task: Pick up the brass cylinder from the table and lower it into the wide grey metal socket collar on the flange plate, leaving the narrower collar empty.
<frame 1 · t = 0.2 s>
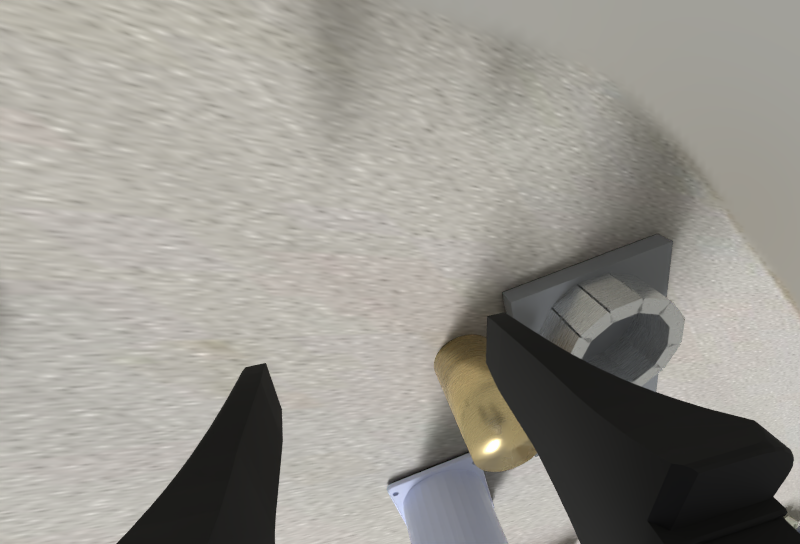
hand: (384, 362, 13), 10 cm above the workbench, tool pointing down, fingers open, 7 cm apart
butterfly valve: (763, 536, 61), on the workbench
socket collar: (582, 314, 28), resting on flange plate
flange plate: (584, 354, 30), on the workbench
brass cylinder: (464, 359, 27), on the workbench
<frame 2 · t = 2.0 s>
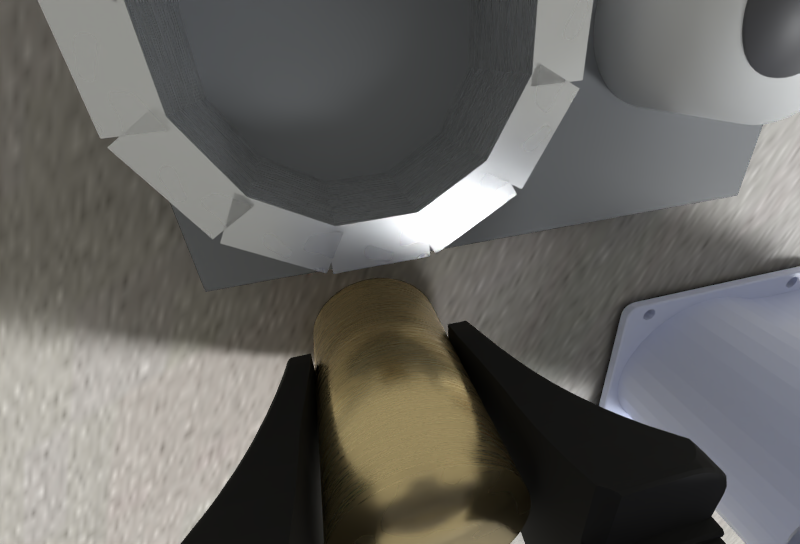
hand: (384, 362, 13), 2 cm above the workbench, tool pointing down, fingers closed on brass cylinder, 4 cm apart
socket collar: (333, 41, 10), resting on flange plate
flange plate: (488, 27, 10), on the workbench
brass cylinder: (376, 331, 14), on the workbench, touching gripper
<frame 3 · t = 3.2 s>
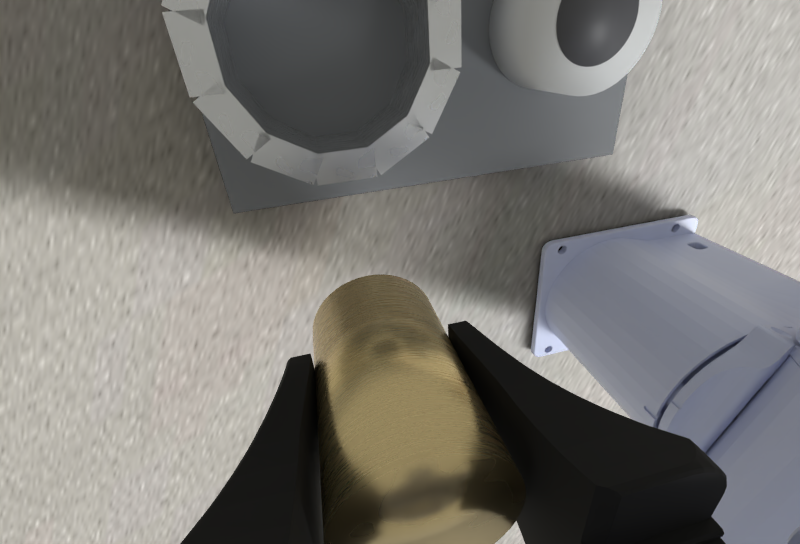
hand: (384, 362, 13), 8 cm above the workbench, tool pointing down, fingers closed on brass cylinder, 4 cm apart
socket collar: (319, 44, 15), resting on flange plate
flange plate: (422, 34, 15), on the workbench
brass cylinder: (374, 327, 14), point 6 cm above the workbench, touching gripper
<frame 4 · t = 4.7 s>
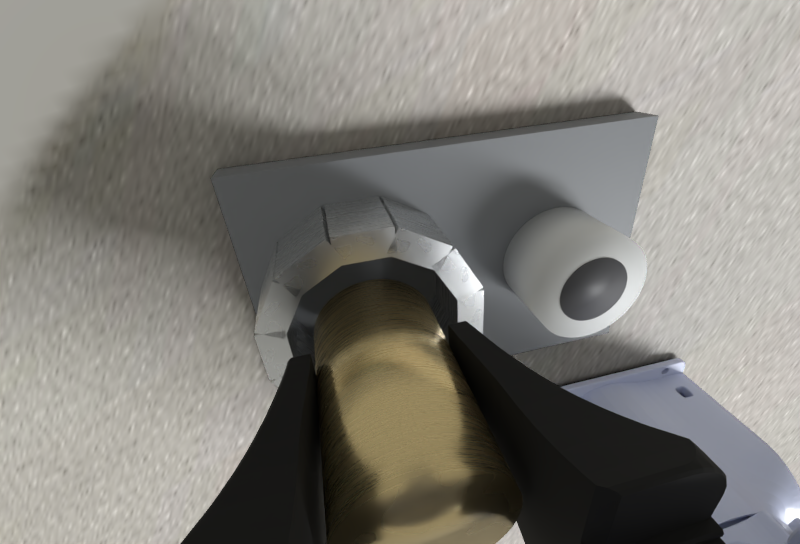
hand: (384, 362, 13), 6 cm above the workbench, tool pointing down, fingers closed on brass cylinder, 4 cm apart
socket collar: (361, 277, 18), resting on flange plate
flange plate: (447, 261, 18), on the workbench
brass cylinder: (375, 330, 14), point 4 cm above the workbench, touching gripper
when the fingers open (5 cm above the workbench, at t = 5.8 s): brass cylinder drops 2 cm, resting on flange plate.
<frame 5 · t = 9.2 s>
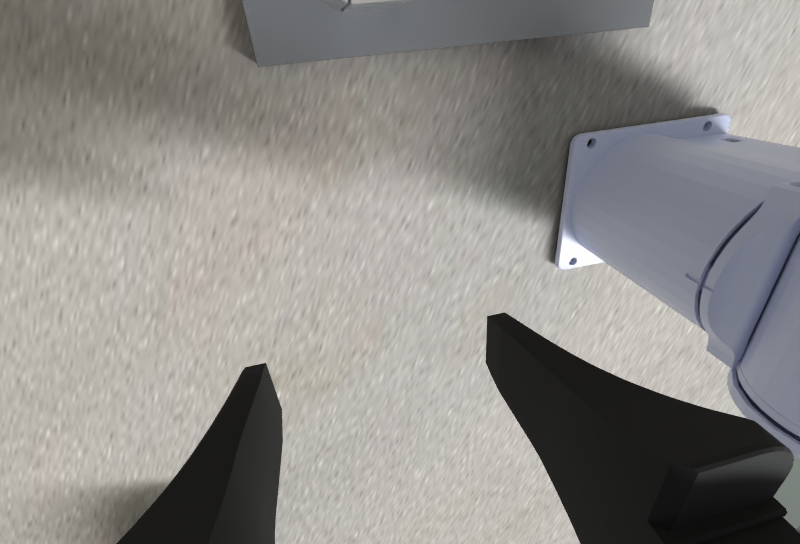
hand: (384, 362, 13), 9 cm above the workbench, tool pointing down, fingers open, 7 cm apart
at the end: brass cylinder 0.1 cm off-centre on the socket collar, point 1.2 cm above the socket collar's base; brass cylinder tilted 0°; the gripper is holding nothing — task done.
